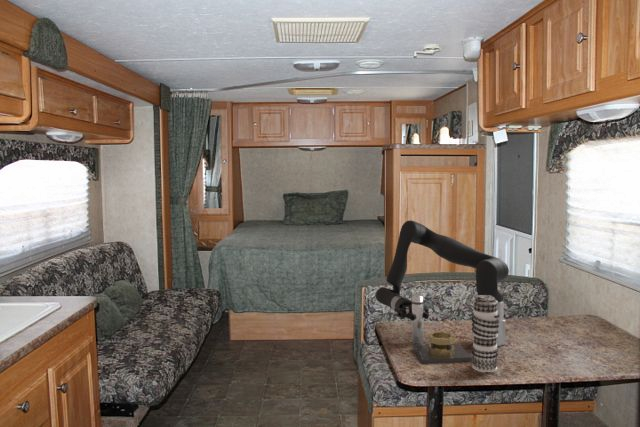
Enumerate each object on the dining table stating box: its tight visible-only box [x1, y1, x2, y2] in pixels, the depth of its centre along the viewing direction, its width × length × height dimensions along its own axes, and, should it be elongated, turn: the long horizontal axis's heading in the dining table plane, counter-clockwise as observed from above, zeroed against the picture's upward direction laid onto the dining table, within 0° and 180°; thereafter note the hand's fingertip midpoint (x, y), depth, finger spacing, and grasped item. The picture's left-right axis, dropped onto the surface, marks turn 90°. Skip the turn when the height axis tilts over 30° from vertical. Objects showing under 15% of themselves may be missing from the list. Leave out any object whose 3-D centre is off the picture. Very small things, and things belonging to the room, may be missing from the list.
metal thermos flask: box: [411, 293, 424, 346], centre depth 199 cm, size 4×4×19 cm
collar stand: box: [411, 331, 473, 365], centre depth 186 cm, size 18×14×8 cm
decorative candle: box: [470, 295, 500, 373], centre depth 173 cm, size 9×9×25 cm
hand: (420, 317), depth 196 cm, fingers open, 5 cm apart
